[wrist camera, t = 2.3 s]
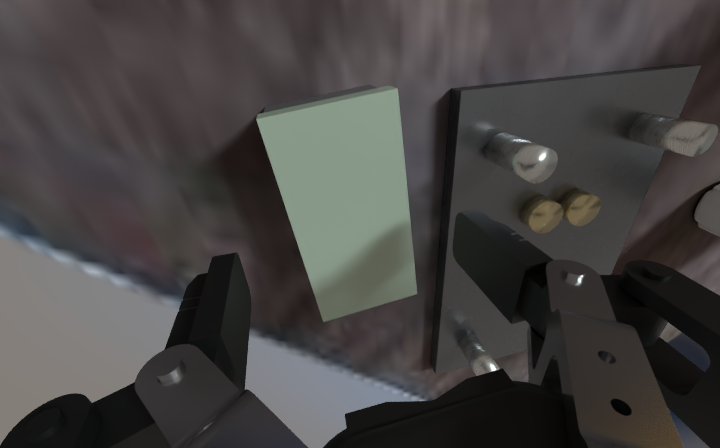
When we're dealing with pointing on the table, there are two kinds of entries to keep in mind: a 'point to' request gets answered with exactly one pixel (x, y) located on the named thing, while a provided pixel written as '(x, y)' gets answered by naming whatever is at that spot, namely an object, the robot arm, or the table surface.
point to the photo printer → (709, 211)
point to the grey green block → (345, 194)
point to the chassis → (551, 182)
